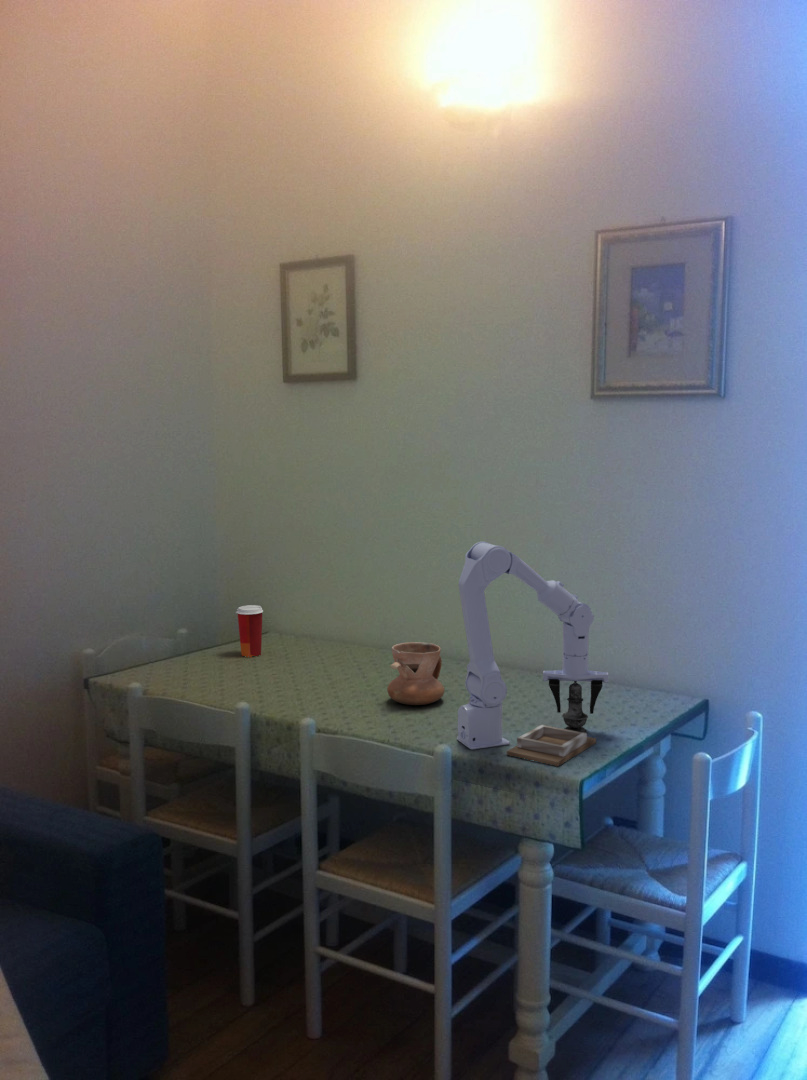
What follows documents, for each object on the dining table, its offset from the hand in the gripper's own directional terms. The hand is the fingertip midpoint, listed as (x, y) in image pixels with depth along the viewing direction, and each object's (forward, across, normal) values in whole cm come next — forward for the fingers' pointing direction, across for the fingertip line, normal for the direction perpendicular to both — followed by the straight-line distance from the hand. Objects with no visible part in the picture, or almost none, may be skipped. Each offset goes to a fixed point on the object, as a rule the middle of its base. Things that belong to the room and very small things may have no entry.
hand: (575, 712), depth 220 cm
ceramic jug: (+5, +39, -20) cm, 44 cm away
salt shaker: (+5, 0, 0) cm, 5 cm away
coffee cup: (+5, +98, -64) cm, 117 cm away
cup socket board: (+4, +5, +13) cm, 15 cm away
